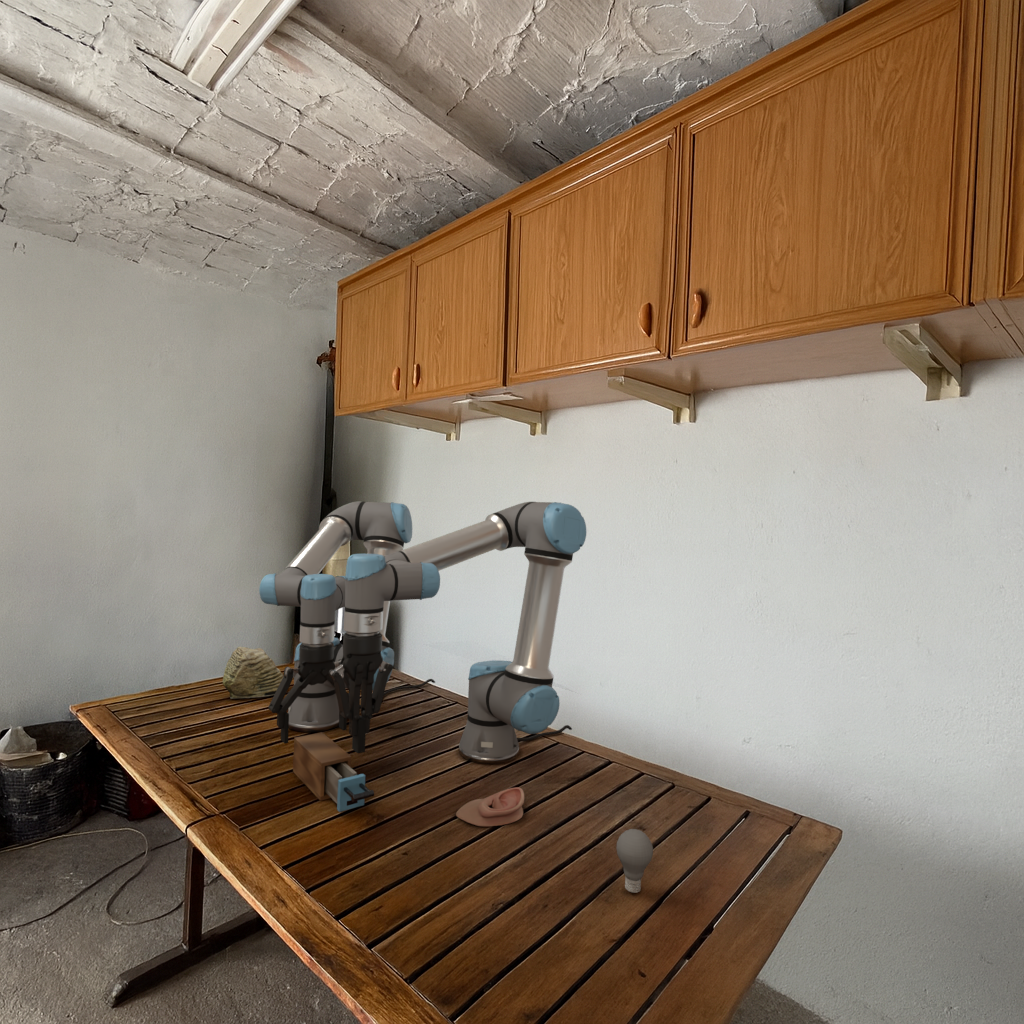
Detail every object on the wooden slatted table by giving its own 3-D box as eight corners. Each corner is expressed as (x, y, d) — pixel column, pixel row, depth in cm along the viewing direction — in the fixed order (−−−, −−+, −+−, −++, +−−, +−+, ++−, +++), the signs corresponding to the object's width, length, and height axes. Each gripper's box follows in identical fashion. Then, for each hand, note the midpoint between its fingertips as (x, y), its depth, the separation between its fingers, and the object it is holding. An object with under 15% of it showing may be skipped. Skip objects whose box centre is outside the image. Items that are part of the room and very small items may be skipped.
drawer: (375, 815, 125) (377, 785, 125) (350, 823, 122) (351, 792, 122) (334, 777, 141) (335, 750, 141) (310, 782, 138) (311, 755, 138)
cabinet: (350, 792, 136) (351, 756, 136) (320, 800, 132) (321, 763, 132) (320, 765, 149) (322, 732, 149) (292, 771, 145) (294, 737, 145)
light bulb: (610, 879, 108) (613, 822, 108) (644, 879, 109) (647, 822, 109) (619, 902, 102) (622, 840, 102) (655, 901, 103) (658, 840, 103)
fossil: (218, 695, 195) (220, 647, 195) (278, 685, 208) (279, 640, 207) (228, 703, 189) (230, 653, 188) (289, 692, 201) (290, 645, 201)
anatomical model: (451, 802, 125) (467, 778, 136) (451, 822, 125) (466, 796, 136) (517, 812, 122) (528, 786, 134) (516, 832, 123) (527, 804, 134)
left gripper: (265, 653, 133) (263, 753, 134) (374, 640, 149) (371, 728, 150) (255, 646, 139) (252, 740, 140) (361, 633, 155) (358, 718, 155)
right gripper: (339, 639, 118) (334, 764, 119) (401, 632, 126) (396, 749, 127) (323, 631, 124) (319, 750, 125) (384, 625, 132) (379, 737, 133)
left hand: (314, 734), depth 145 cm, fingers open, 13 cm apart
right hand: (358, 750), depth 126 cm, fingers closed
